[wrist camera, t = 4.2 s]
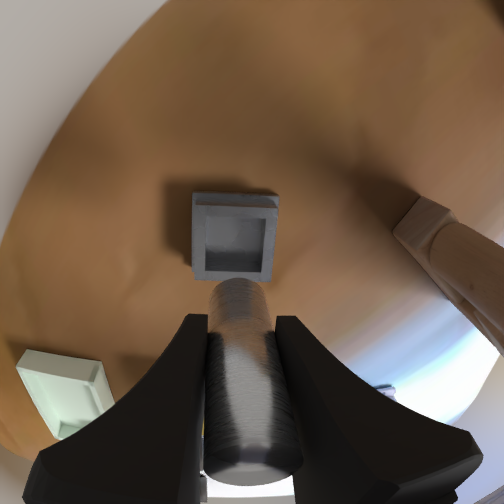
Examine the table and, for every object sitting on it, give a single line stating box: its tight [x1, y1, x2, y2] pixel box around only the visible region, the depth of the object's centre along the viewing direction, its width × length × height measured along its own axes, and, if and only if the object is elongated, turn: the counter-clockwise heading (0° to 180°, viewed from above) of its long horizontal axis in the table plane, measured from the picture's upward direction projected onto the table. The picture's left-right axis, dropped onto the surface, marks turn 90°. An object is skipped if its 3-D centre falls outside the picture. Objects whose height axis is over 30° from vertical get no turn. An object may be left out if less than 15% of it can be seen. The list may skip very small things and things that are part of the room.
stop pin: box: [203, 278, 304, 486], centre depth 9 cm, size 2×2×7 cm
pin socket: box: [192, 191, 279, 282], centre depth 18 cm, size 5×5×2 cm
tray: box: [16, 349, 115, 440], centre depth 23 cm, size 8×11×2 cm
